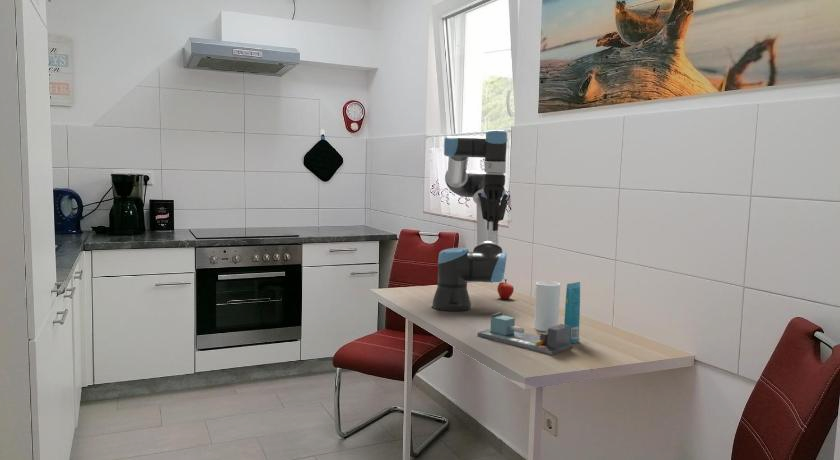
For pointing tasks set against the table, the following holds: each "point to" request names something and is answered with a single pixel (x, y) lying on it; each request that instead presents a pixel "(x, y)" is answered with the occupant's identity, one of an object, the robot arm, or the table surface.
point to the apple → (505, 290)
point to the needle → (542, 338)
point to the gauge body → (504, 324)
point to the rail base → (535, 339)
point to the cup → (546, 305)
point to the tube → (573, 310)
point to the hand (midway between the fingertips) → (492, 239)
